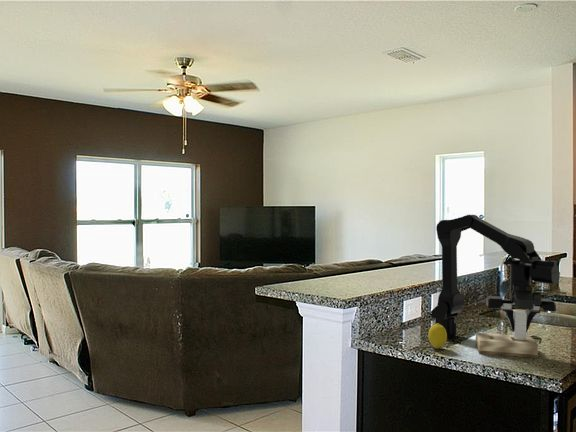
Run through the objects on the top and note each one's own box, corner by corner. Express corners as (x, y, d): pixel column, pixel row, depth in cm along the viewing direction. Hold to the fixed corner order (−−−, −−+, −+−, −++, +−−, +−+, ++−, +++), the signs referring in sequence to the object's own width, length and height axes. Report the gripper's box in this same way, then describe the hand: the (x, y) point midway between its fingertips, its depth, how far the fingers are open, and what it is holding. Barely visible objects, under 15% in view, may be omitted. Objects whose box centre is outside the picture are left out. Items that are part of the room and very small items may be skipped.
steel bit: (514, 339, 151) (515, 312, 151) (512, 336, 154) (513, 310, 154) (526, 339, 150) (526, 313, 150) (523, 337, 153) (524, 311, 153)
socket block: (479, 353, 150) (479, 340, 150) (475, 345, 160) (475, 332, 160) (537, 358, 146) (537, 344, 146) (530, 349, 156) (530, 336, 156)
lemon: (434, 352, 152) (435, 325, 152) (424, 347, 157) (425, 321, 157) (450, 350, 153) (450, 324, 153) (440, 345, 159) (440, 320, 158)
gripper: (491, 282, 146) (490, 335, 147) (561, 286, 142) (560, 340, 142) (486, 277, 157) (485, 327, 157) (551, 280, 152) (550, 331, 153)
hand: (519, 331), depth 152 cm, fingers closed on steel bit, 3 cm apart
